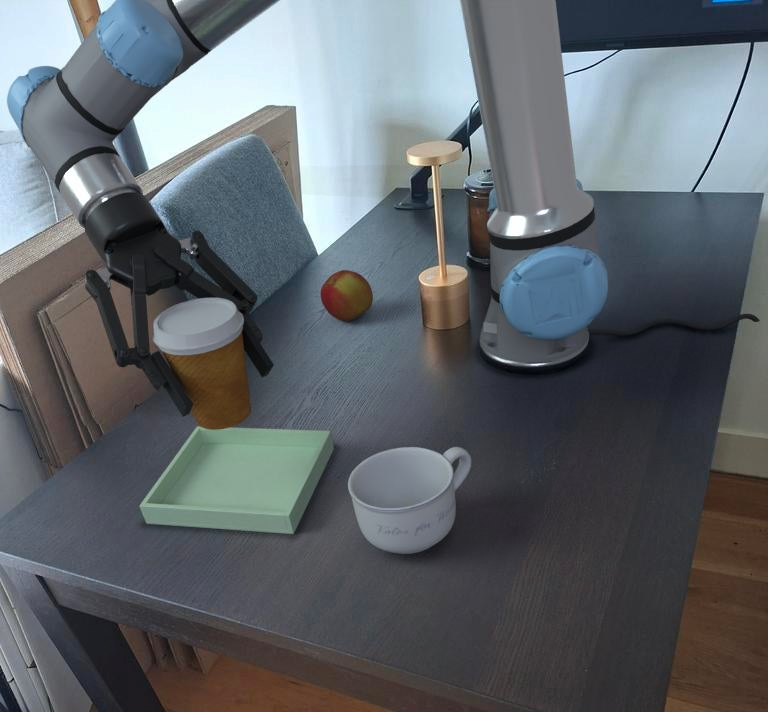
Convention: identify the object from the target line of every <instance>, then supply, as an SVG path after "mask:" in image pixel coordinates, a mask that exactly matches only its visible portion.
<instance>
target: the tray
mask: <svg viewBox="0 0 768 712" xmlns="http://www.w3.org/2000/svg"><path fill="white" fill-rule="evenodd" d="M334 450H335V446H334V441H333V436H332V432H331V430H317V429H315V430H313V429H312V430H311V429H289V428H288V429H285V428H284V429H283V428H258V427H257V428H255V427H230V428H225V429H219V430H210V429H205V428H202V427H200V426H199V425H197V426H196V427H195V428H194V430H193V432H192V433H191V434H190V435H189V437H188V438H187V440H186V441H185V442H184V444H183V445H182V447H181V448H180V449H179V451H177V453H176V455H175V456H174V457H173V459H172V460H171V461H170V463H169V464H168V466H167V467H166V468H165V470H164V471H163V473H162V474H161V475H160V476H159V478H158V479H157V481H155V484H154V485H153V486H152V487H151V489H150V491H149V492H148V493H147V494H146V496H145V497H144V499H143V500H142V501H141V503H140V505H138V507H139V509H140V511H141V513H142V516H143V518H144V519H143V520H144V521H145V523H146V525H158V526H159V525H160V526H161V525H162V526H174V527H186V528H187V527H189V528H200V529H201V528H202V529H214V530H215V529H218V530H230V531H244V532H256V533H257V532H258V533H273V534H284V535H285V534H286V535H287V534H288V535H294V534H295V532H296V531H297V528H298V525H299V523H300V521H301V520H302V518H303V515H304V513H305V511H306V509H307V506H308V505H309V502H310V501H311V498H312V496H313V494H314V492H315V490H316V488H317V486H318V484H319V481H320V479H321V478H322V475H323V473H324V471H325V469H326V466H327V465H328V462H329V460H330V458H331V456H332V454H333V452H334Z"/></svg>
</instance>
